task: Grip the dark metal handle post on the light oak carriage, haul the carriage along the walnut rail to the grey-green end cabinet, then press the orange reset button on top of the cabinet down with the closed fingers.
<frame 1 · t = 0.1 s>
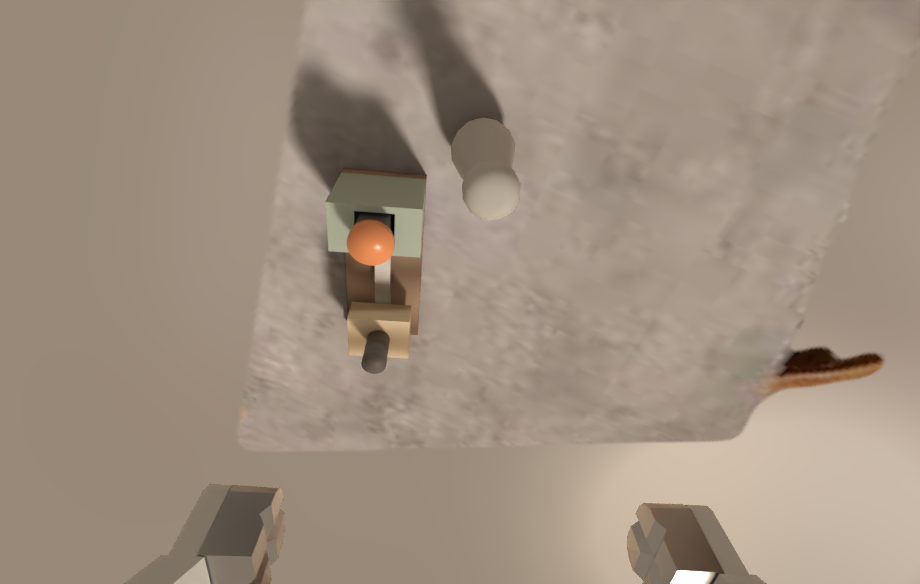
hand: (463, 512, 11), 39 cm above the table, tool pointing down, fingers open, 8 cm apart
end cabinet: (385, 194, 48), resting on rail bed
rail bed: (384, 257, 51), on the table
carriage: (378, 342, 50), point 6 cm above the table, slide at 0.0 cm
reset button: (374, 231, 41), point 8 cm above the table, slide at 0.0 cm
salt shaker: (481, 142, 45), on the table
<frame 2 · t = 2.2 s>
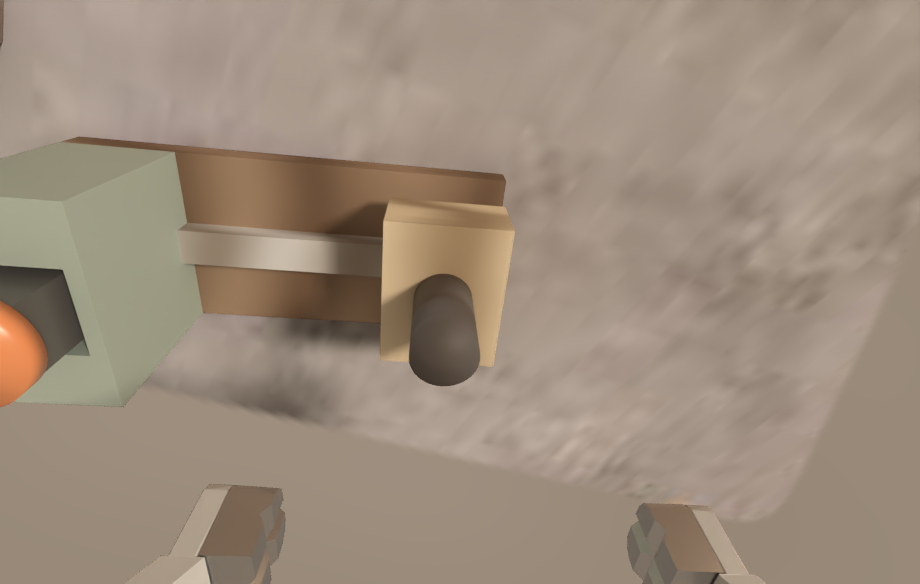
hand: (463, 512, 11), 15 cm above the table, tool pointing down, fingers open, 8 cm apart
end cabinet: (151, 226, 23), resting on rail bed
rail bed: (303, 237, 24), on the table
carriage: (443, 306, 19), point 6 cm above the table, slide at 0.0 cm
reset button: (18, 314, 16), point 8 cm above the table, slide at 0.0 cm
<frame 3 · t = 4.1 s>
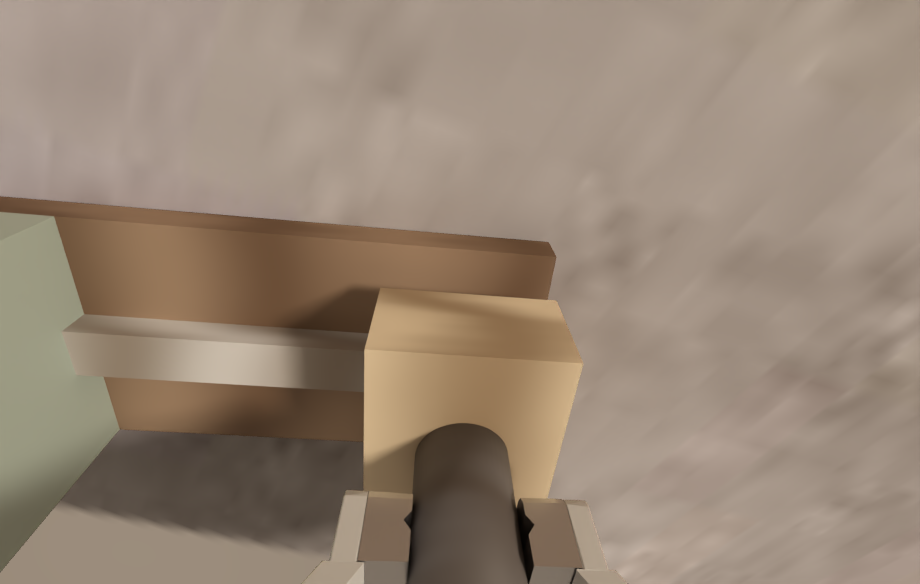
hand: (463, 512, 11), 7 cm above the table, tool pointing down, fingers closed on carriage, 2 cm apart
end cabinet: (42, 311, 16), resting on rail bed
rail bed: (260, 326, 17), on the table
carriage: (462, 473, 12), point 6 cm above the table, slide at 0.0 cm, touching gripper
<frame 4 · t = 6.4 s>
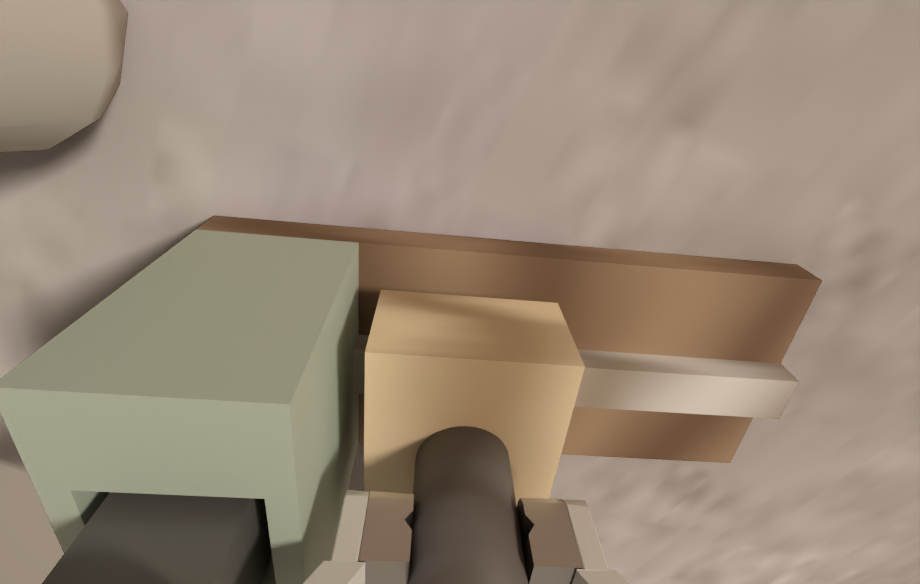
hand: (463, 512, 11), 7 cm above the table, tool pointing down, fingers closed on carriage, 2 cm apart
end cabinet: (297, 330, 17), resting on rail bed
rail bed: (501, 344, 17), on the table
carriage: (462, 477, 12), point 6 cm above the table, slide at 8.5 cm, touching gripper
reset button: (179, 564, 9), point 8 cm above the table, slide at 0.0 cm, touching gripper
salt shaker: (50, 16, 12), on the table
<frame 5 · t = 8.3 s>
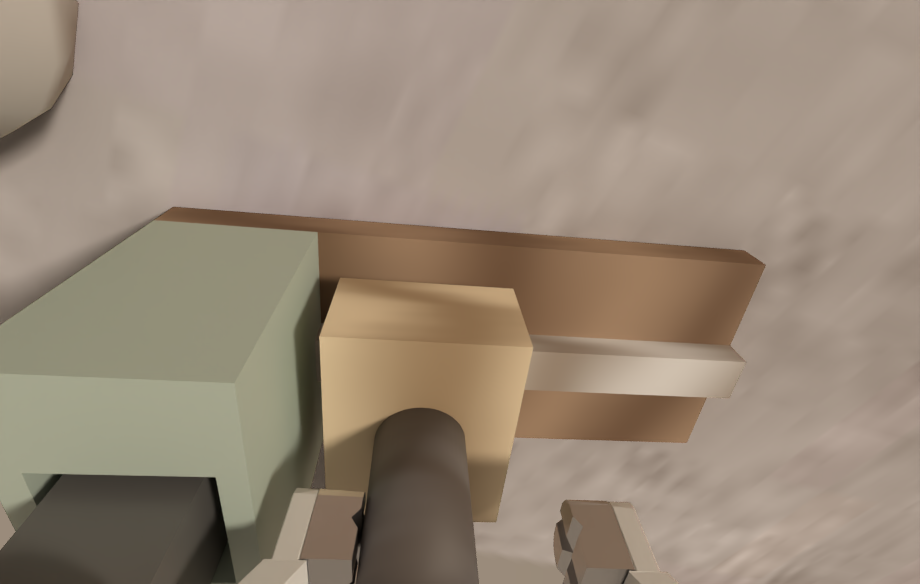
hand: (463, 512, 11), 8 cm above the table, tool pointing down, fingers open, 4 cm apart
end cabinet: (261, 320, 17), resting on rail bed
rail bed: (463, 331, 18), on the table
carriage: (419, 456, 12), point 6 cm above the table, slide at 8.4 cm, touching gripper
reset button: (122, 564, 9), point 9 cm above the table, slide at -0.4 cm, touching gripper
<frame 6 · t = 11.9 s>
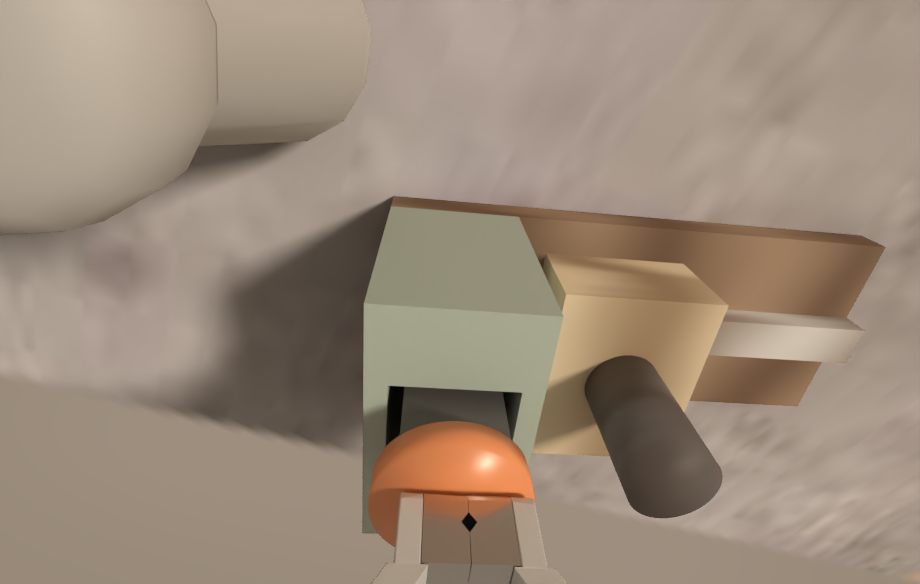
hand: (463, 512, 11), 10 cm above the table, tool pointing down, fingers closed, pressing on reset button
end cabinet: (445, 293, 20), resting on rail bed
rail bed: (612, 305, 21), on the table
carriage: (626, 395, 15), point 6 cm above the table, slide at 8.4 cm
reset button: (449, 432, 13), point 8 cm above the table, slide at 0.5 cm, touching gripper
salt shaker: (291, 35, 16), on the table
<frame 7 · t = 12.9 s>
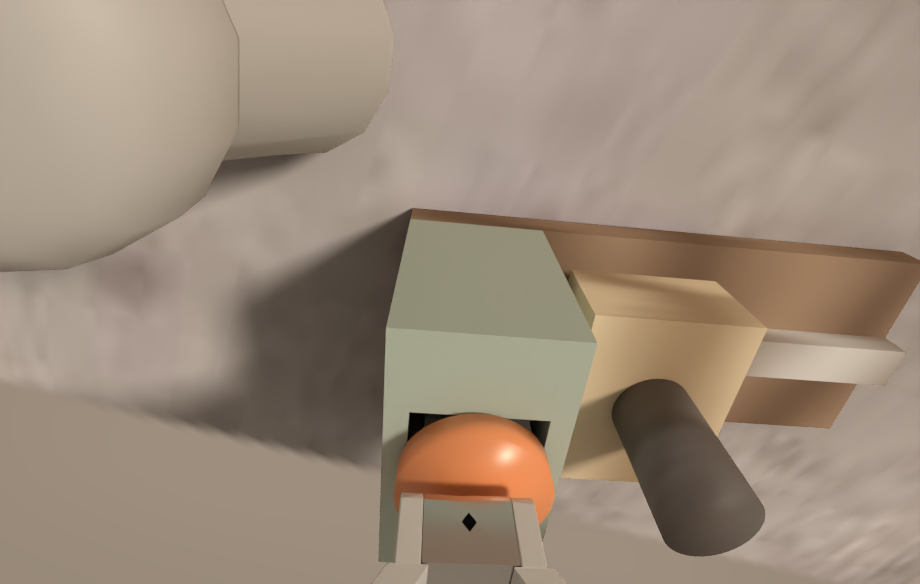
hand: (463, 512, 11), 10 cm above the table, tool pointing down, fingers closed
end cabinet: (464, 308, 19), resting on rail bed
rail bed: (636, 321, 20), on the table
carriage: (656, 420, 14), point 6 cm above the table, slide at 8.4 cm
reset button: (470, 426, 13), point 7 cm above the table, slide at 1.7 cm
salt shaker: (310, 43, 15), on the table
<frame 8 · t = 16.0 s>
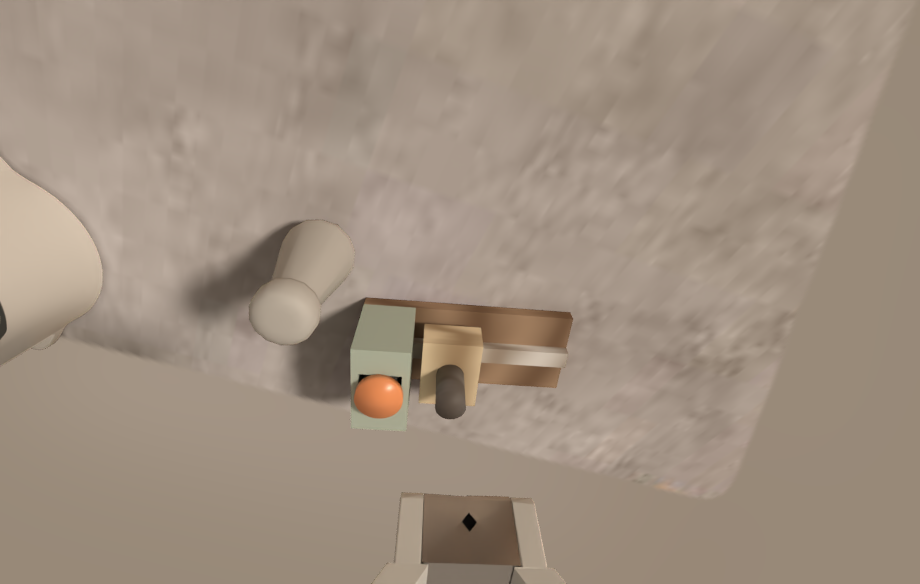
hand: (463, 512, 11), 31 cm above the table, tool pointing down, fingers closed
end cabinet: (389, 336, 45), resting on rail bed
rail bed: (465, 341, 46), on the table
carriage: (450, 379, 41), point 6 cm above the table, slide at 8.4 cm
reset button: (381, 380, 40), point 7 cm above the table, slide at 1.7 cm
salt shaker: (325, 242, 41), on the table
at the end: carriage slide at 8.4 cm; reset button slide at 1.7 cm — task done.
